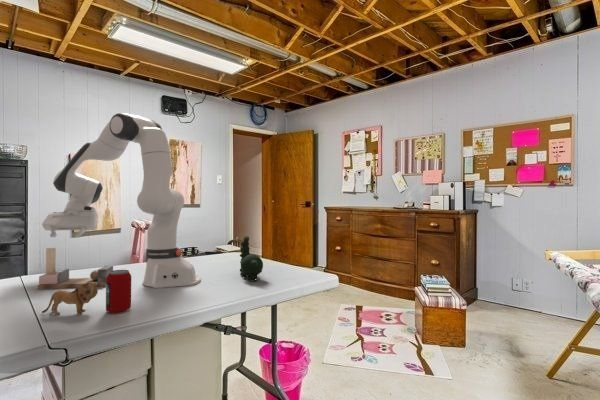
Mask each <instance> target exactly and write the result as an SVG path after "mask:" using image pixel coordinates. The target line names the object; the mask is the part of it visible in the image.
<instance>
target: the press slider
mask: <svg viewBox="0 0 600 400" xmlns="http://www.w3.org/2000/svg"><path fill="white" fill-rule="evenodd" d="M56 250H57V249H56V247H47V248H45V273H43V274H42V275H39V276H38V285H39V284H58V283H62V282H64V281H66V280H68V279H70V269H69V268H67V269H64V270H61V271H56V264H57V263H56V259H57V258H56V257H57V256H56V255H57V254H56V252H57V251H56Z"/></svg>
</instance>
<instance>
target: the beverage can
mask: <svg viewBox="0 0 600 400" xmlns="http://www.w3.org/2000/svg"><path fill="white" fill-rule="evenodd" d="M131 307H132V274H131V273H130V271H129V269H115V270H114V269H113V271H110V272H109V274H108V276H107V278H106V287H105V312H108V313H109V314H114V315H115V314H122V313H125V312H127V311H128V310H130V309H131Z"/></svg>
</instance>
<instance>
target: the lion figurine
mask: <svg viewBox="0 0 600 400" xmlns="http://www.w3.org/2000/svg"><path fill="white" fill-rule="evenodd" d="M98 288H99V287H97V284H96V283H94V282H87V283H86V284H84V285H82V286H80V287H78V288H74V290H72V291H66V290H63V289H61V290H60V289H59V290H56V291H54V292H53V294H52V295H51V297H50V301H49V303H48V306H47V307H46V309H44V310H43V311H41V313H42V314H45V313H46V312H48V311H49V309H50V308H51V312H52V313H54V315H55V316H60V315H61V312H58V307H59V305H60V304H61V303H64V304H67V305H75V307H76V315H78V316H80V315H83V312H84V313H85V312H86V309H85V308H84V304H88V303H89V302H90V301H91V300H92V299H94V298H95V297H96V296H97V295H98V292H99V289H98ZM83 308H84V309H83Z"/></svg>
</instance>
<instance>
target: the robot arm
mask: <svg viewBox="0 0 600 400" xmlns="http://www.w3.org/2000/svg"><path fill="white" fill-rule="evenodd" d="M130 142H134V143H136V144H139V145H140V146H139V147H140V153H141V154H140V155H141V161H142V162H141V163H142V170H143V180H142V186H141V191H140V192H139V193H138V195H137V197H136V204H137V207H138V208H139V209H140V210H141V211H142V212H144V213H146V214H149V215H153V217H152V220H151V223H150V225H149V226H148V228H147V239H146V240H147V241H146V243H147V244H146V249H145V263H146V264H145V271H144V277H143V280H142V283H141V284H142V285H143V286H145V287H146V286H147V287H151V288H154V289H161V288H172V287H184V286H195V285H197V284H200V283H201V281H202V279H201V276H199V275H197V274H196V270H195V267H194V265H193V263H191V262H189V261H188V260H187V259H185V258H184V257H183V256H182V248H179V247H178V246H177V233H178V232H177V231H178V223H179V219H180V216H181V211H182V210H183V207H184V205H185V197H184V194H182V193H181V192H180V191H178V190H177V189H174V188H170V182H171V177H172V175H173V172H174V169H173V163H172V156H171V155H172V154H171V148H170V145H169V141H168V137H167V134H166V132H165V131H164V130H163V129H162V126H161V125H160V124H159V123H158V122H156V121H154V120H152V119H149V118H145V117H142V116H140V115H134V114H129V113H127V112H126V113H125V112H122V113H121V112H120V113H116V114H114V115H112V117H111V119H110V121H108V123H107V124H105V127H104V128H103V129H102V131H101V132H100V134H99V136H98V138H97V139H96V140H94V141H92V142H86V143H85V144H84V145H82V146H81V147H80V149H78V151H77V152H76V153H75V154H74V155H73V156H72V157H71V159H70V160H69V161H68V162H67V164H66V165H65V166H64V167H63V168H62V169H61V170H60V171H59V172H58V173H56V175H55V176H54V179H53V181H52V183H53V187H55V189H56V190H57V191H59V192H62V193H67V194H70V195H71V196H70V197H69V201H68V202H67V203H66V205H65V208H64V209H63V211H60V212H59V211H58V212H57V211H54V212H52V213H49V214H48V215H47V216H46V218H45V219H44V220H43V222H42V224H41V225H42V228H43V229H44V230H45V231H50V234H49V236H50V238H56V236H57V233H56V231H76V232H75V237H76V238H81V237H82V235H83V234H85V233H86V231H94V230H96V229H97V227H98V223H99V221H98V219H99V215H98V212H97V210H96V208H95V207H94V206H91V205H92V204H95V203H97V202H98V201H99V199H100V197H101V193H102V191H103V189H104V188H103V184H102V183H101V182H100V181H99V180H96V179H94V178H91V177H87V176H85V175H83V174H80V173H79V172H76V171H77V169H79V167H80V166H81V165H82V164H83V163H84V162H86V161H88V160H94V161H104V162H108V161H109V162H110V161H115V160H117V159H119V158H121V156H122V155H123V154H124V152H125V151H126V149H127V148H128V145H129V144H130Z"/></svg>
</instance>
